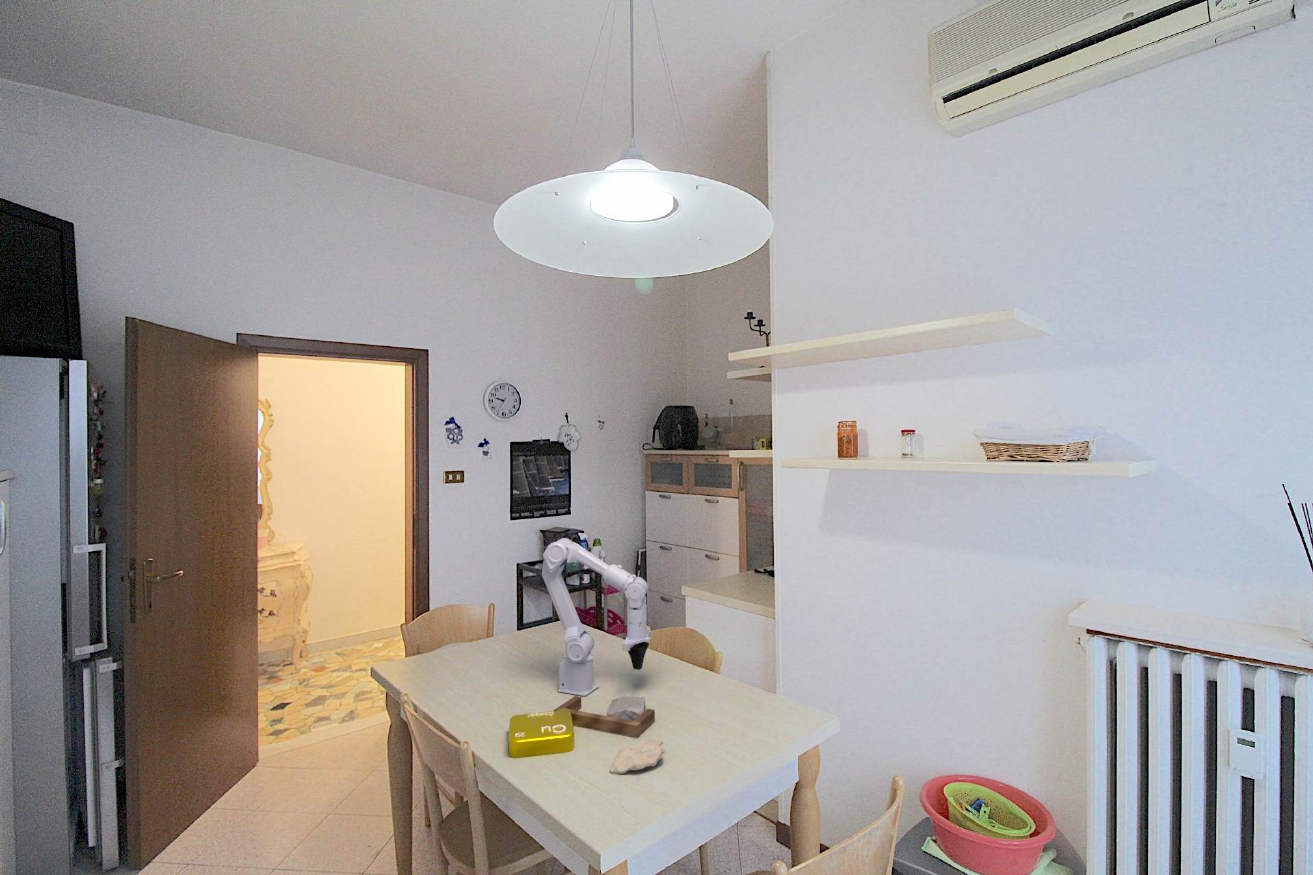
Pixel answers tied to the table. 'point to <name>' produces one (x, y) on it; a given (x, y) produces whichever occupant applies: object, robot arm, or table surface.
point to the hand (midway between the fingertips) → (637, 668)
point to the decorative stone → (637, 756)
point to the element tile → (541, 734)
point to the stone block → (626, 707)
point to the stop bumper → (608, 720)
